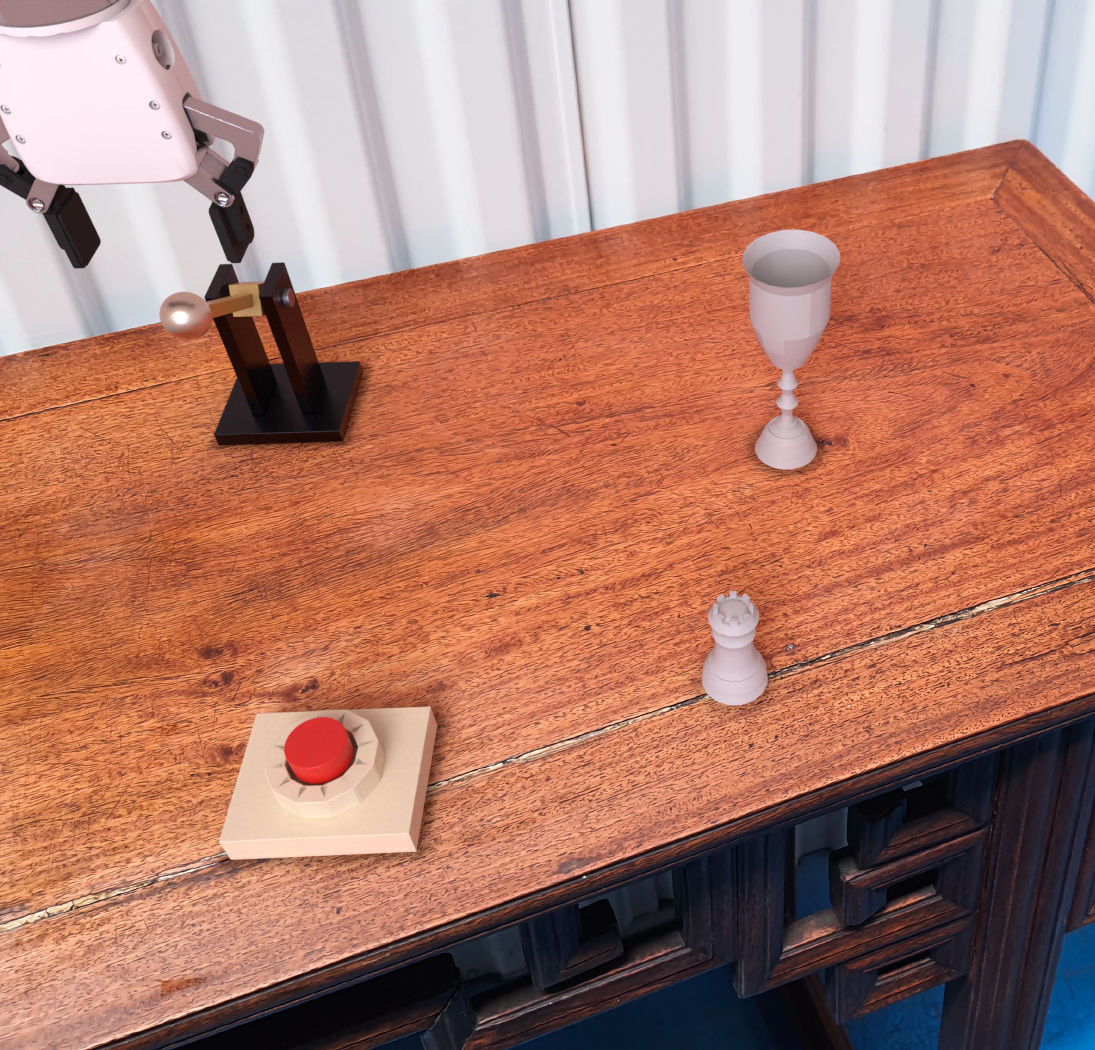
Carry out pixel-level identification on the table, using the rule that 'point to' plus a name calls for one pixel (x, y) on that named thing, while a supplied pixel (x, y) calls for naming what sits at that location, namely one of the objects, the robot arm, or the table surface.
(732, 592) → the rook chess piece
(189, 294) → the switch lever
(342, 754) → the red button
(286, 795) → the control box
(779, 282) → the chalice
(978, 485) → the table surface
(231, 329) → the switch bracket
